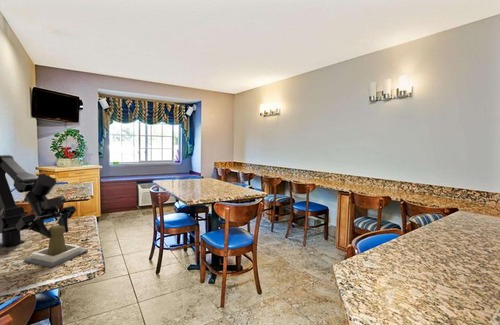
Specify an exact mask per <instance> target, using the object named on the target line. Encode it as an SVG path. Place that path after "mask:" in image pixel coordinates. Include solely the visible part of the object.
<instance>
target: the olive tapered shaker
mask: <svg viewBox="0 0 500 325" xmlns="http://www.w3.org/2000/svg"><path fill="white" fill-rule="evenodd" d="M48 231H49V232H50V235H51V237H50V238H49V241H48V247H47V248H48V254H47V255H50V256H56V255H58V254H61V253H63V252H66V246H65V243H66V240H65V235H64V234H65V233H66V232H65V227H64V226H62V225H59V224H57V225H56V224H55V225H53V226H50V227H49V228H48Z"/></svg>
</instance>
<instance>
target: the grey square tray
mask: <svg viewBox="0 0 500 325" xmlns="http://www.w3.org/2000/svg"><path fill="white" fill-rule="evenodd" d="M65 246H66V252H63V253H61V254H58V255H56V256H50V255H47V254H48V247H45V248H42V249H40V250H36V251H34V252H32V253H30V254H31V255H30V256H29V257H26V258H24V260H23V262H27V263H31V264H35V265H38V266H39V265H40V266H45V267H49V268H53V267H56V266H58V265H61V264H63V263H66V262H68V261H70V260H72V259H74V258H77V257H78V256H81V255H83V253H84V254H85V253H88V249H85V248H82V246H81V245H76V244H71V243H66V242H65Z"/></svg>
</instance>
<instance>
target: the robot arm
mask: <svg viewBox="0 0 500 325" xmlns="http://www.w3.org/2000/svg"><path fill="white" fill-rule="evenodd" d="M6 174H7V175H8V176H9V177H10V178H11V179H12V180H13V187H14V189H15V191H17V192H18V193H19V194H20V193H26V194H25V197H24V199H23V202H28V204H29V205H30V208H31V210H30V212H31V214H26V212H25V210H24V207H23V206H18V205H17V204H16V201H15V199H14V196H13V194H12V190H11V188H10V185H9V182H8V178H7V177H6ZM56 184H57V179H55V178H54V177H52V176H49V175H47V174H46V173H39V174H38V176H36V175H35V174H33V173H29V172H27V171H26V170H25V169H24V168H23V167H21V165H20V164H19V163H17V161H15V159H14V156H12V155H10V154H7V155H5V154H4V155H0V234H1V242H0V247H4V248H9V247H13V246H16V245H19V244H22V243H25V242H26V241H25V240H22V239H21V231H25V230H28V231H33V232H35V233H38V234H41V236H43V237H46V238H48V239H50V237H51V235H50V232H49V231H48V230H49V228H47V226H46V225H45V222H44V221H48V220H51V219H58V220H57V222H56V223H57V225H62V226H64V227H65V232H64V233H67V234H68V232H69V225H68V224H69V223H68V220H69V219H71V218H72V217H73V216H74V214H75V213H76V212H77V208H76V206H74V205H69V206H63V205H64V204H65V203H66V202H67V201H66V197H65V196H64V195H63V194H62V195H57V196H56V197H54V198H48V197H47V195H49V194H50V193H51V191H52V190H53V189H54V187H55V186H56ZM60 206H61V207H62V206H63V207H62V209H61V211H58V210H59V207H60Z"/></svg>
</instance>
